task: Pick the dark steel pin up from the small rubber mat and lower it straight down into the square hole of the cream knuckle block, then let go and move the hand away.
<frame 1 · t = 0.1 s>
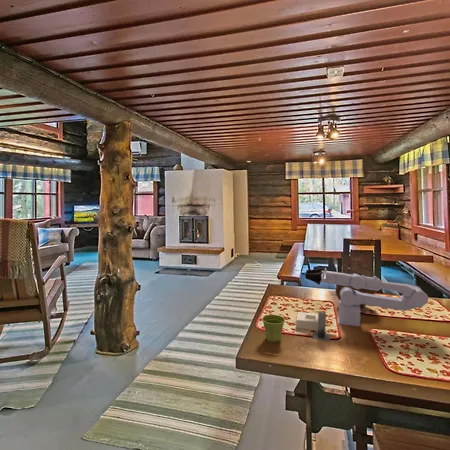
hand: (305, 274, 147), 22 cm above the table, tool horizontal, fingers open, 7 cm apart
plant pot: (273, 339, 126), on the table
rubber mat: (321, 337, 128), on the table
bowl: (353, 306, 163), on the table
knuckle block: (310, 325, 139), on the table
steel pin: (321, 336, 128), resting on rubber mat
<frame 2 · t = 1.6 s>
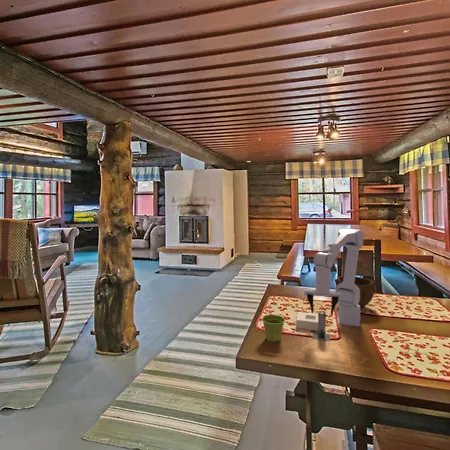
hand: (322, 313, 127), 10 cm above the table, tool pointing down, fingers open, 7 cm apart
nothing on the table moved.
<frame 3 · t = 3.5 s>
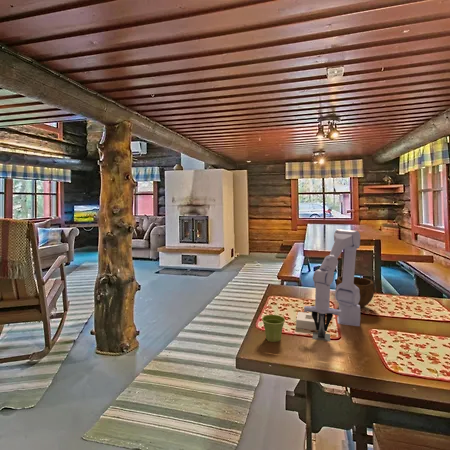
hand: (321, 329, 128), 3 cm above the table, tool pointing down, fingers closed on steel pin, 3 cm apart
steel pin: (321, 336, 128), resting on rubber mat, touching gripper
everything else where it was.
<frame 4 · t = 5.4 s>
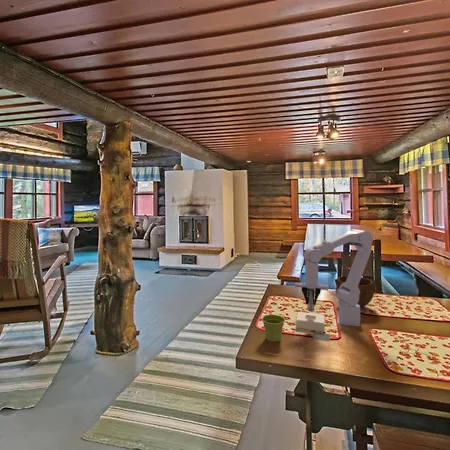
hand: (310, 304, 138), 10 cm above the table, tool pointing down, fingers closed on steel pin, 3 cm apart
steel pin: (310, 310, 139), point 7 cm above the table, touching gripper
everything else where it was.
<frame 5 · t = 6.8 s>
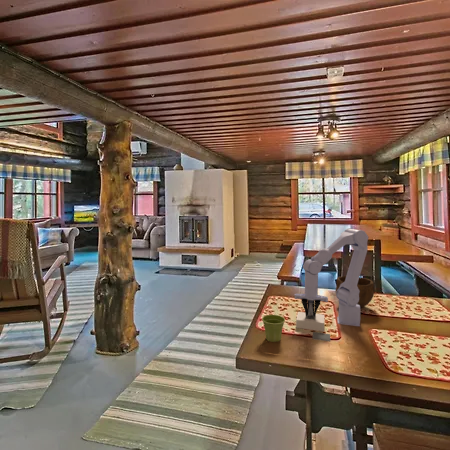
hand: (310, 315, 139), 5 cm above the table, tool pointing down, fingers closed on steel pin, 3 cm apart
steel pin: (310, 321, 139), point 2 cm above the table, touching gripper
everything else where it was.
when the fingers open (5 cm above the table, at t = 7.6 s): steel pin drops 2 cm, resting in knuckle block.
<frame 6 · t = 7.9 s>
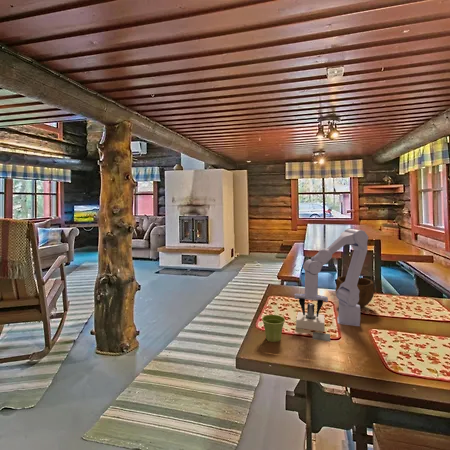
hand: (310, 315, 139), 5 cm above the table, tool pointing down, fingers open, 5 cm apart
steel pin: (310, 325, 139), resting in knuckle block
everything else where it was.
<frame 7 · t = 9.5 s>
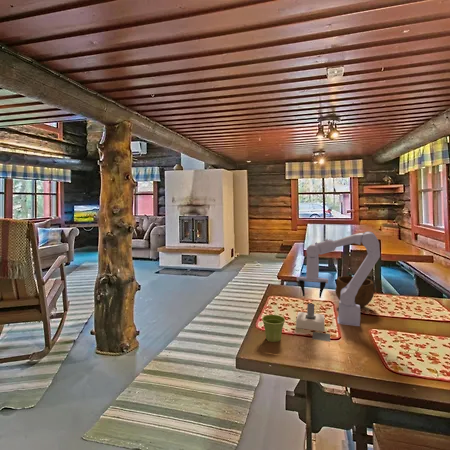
hand: (311, 296, 148), 10 cm above the table, tool pointing down, fingers open, 7 cm apart
nothing on the table moved.
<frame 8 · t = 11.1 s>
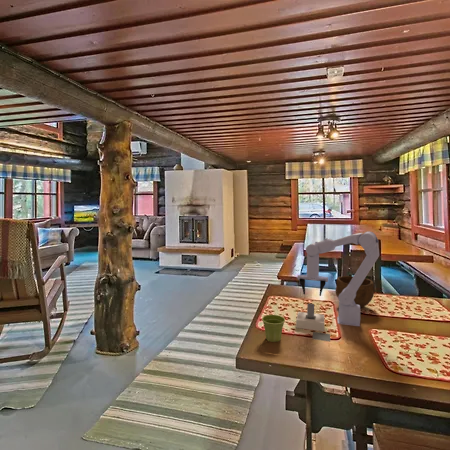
hand: (312, 294, 151), 10 cm above the table, tool pointing down, fingers open, 7 cm apart
nothing on the table moved.
at the end: steel pin 0.1 cm off-centre on the knuckle block, point 0.0 cm above the knuckle block's base; steel pin tilted 0°; the gripper is holding nothing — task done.
